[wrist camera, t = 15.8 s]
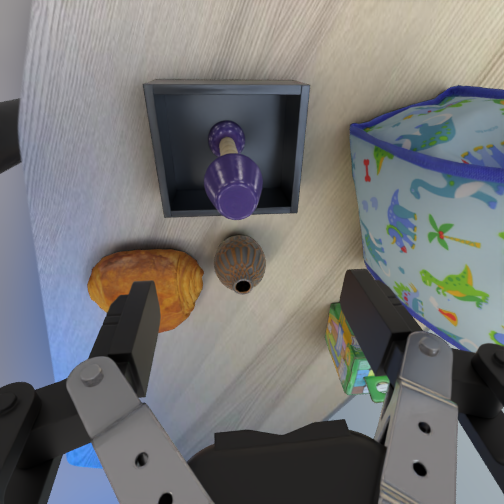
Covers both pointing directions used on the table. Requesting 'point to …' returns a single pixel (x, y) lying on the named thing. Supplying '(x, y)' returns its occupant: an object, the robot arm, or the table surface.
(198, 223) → the table surface
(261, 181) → the toy lamp
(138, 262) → the croissant
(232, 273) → the vase
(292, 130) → the open box
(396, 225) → the lunch bag
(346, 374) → the chalk box
